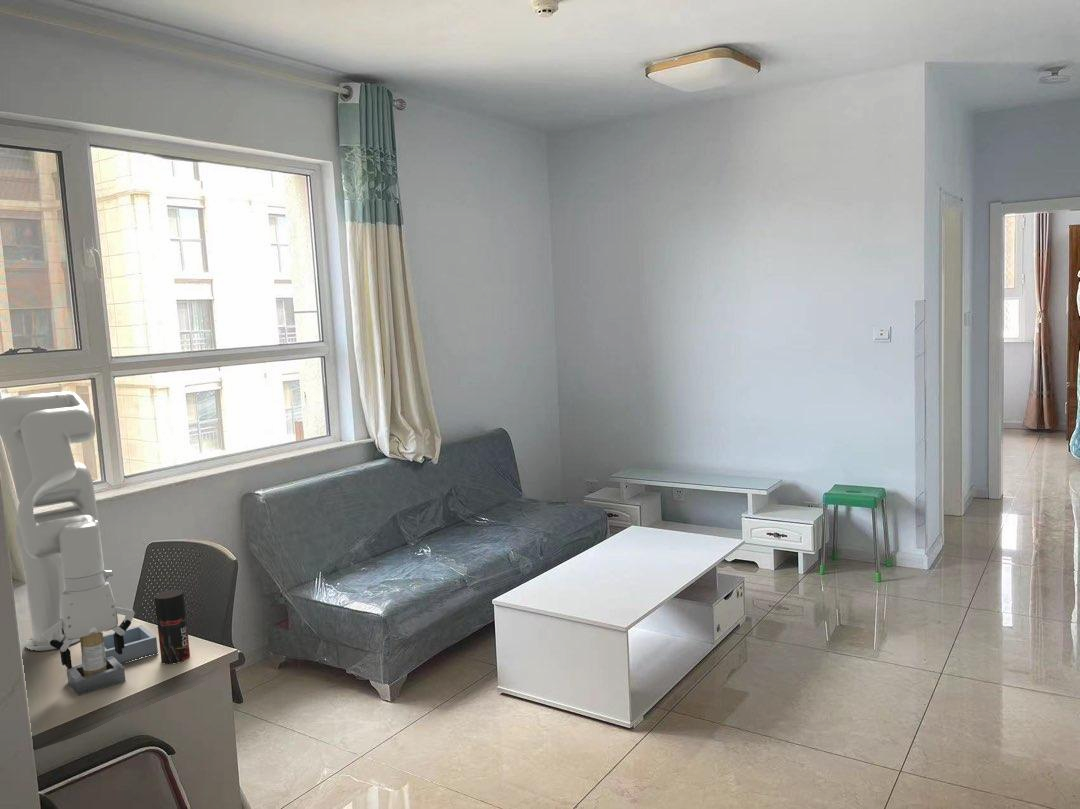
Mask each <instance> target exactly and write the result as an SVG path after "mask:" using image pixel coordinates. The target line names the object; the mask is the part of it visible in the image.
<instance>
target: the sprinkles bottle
mask: <svg viewBox="0 0 1080 809" xmlns="http://www.w3.org/2000/svg"><path fill="white" fill-rule="evenodd" d="M96 631H97V629H96V628H94V627H93V628H91V629H90V631H89V633H91V634H89V636H86V637H83V638H80V641H79V642H80V649H81V651H80V652H81V662H82V664H83V670H84V677H85V676H88V675H92V674H95V673H98V672H102V671H105V670H107V668H106V664H107V663H106V655H105V646H104V640H103V635H104V634H103V633H104V632H102V633H93V632H96ZM82 664H81V665H82Z"/></svg>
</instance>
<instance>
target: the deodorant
mask: <svg viewBox="0 0 1080 809" xmlns="http://www.w3.org/2000/svg"><path fill="white" fill-rule="evenodd" d="M185 602H186V601H185V593H184V590H182V589H170V590H165V591H164V590H163V591H161V592H158V593H156V594H154V604H155V606H154V607H155V614H156V624H157V631H158V632H157V633H158V641H159V652H160V659H161V660H160V661H161V663H162V664H163V663H165V664H164V665H174V664H173V663H176V664H179V663H178V662H180V663H182V661H183V662H185V661H187V660H189V658H190V657H191V653H190V643H189V632H188V624H187V623H188V622H187V621H188V620H187V614H186V613H187V612H186V605H185V604H186V603H185ZM186 659H187V660H186ZM184 660H185V661H184Z"/></svg>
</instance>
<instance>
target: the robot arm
mask: <svg viewBox="0 0 1080 809" xmlns="http://www.w3.org/2000/svg"><path fill="white" fill-rule="evenodd" d="M95 435H96V423H95V419H94V416H93V414H92V411H91V410H90V408H89V407H88V406H87V405H86V403H85V402H84V401H83V399H82V398H80V396H79V395H78V394H77V393H75V392H74V391H54V392H45V393H41V392H40V393H31V394H20V395H13V396H7V397H3V398H2V399H0V437H1V439H2V441H3V442H4V445H5V446H6V448H7V451H8V453H9V456H10V462H11V469H12V470H11V471H12V475H13V476H12V477H13V481H14V487H15V489H14V490H15V493H16V497H17V501H18V507H17V523H16V525H15V526H14V536H15V542H16V544H17V548H18V550H19V554H20V557H21V561H22V566H23V573H24V579H25V580H24V581H25V586H26V588H25V589H26V595H27V604H28V611H29V619H30V628H31V633H32V636H31V637H29V638H28V639H27V640H26V641H25V648H26V649H27V648H28V649H27V650H29V649H30V651H33V650H35V651H36V652H37V651H38V652H39V651H41V652H42V651H51V650H56V649H57V650H59V652H60V660H61V662H60V663H61V665H62V666H65V667H66V669H71V668H72V667H73V663H72V657H71V656H72V655H71V650H70V649H69V647H70V646H71V645H73V644H75V643H78V642H80V638H83V637H86V636H89V634H91V633H89V631H90V629H91V628H93V627H94V628H96V629H97V631H96V632H93V633H102V632H103V633H105V632H109V631H111V630H112V631H113V633H114V632H115V633H114V635H113V637H114V646H115V651H116V652H117V653H118V654H122V649H123V648H124V638H123V635H124V634H125V631H126V630H127V629H129V628H130V626H131V624H132V621H133V619H134V616H135V614H136V613H135V611H134V610H133V609H130V608H124V607H120V606H116V602H115V598H114V595H113V591H112V586H111V584H110V582H109V581H107V580H108V578H110V577H113V571H112V570H111V569H110V570H107V569H105V564H104V556H103V555H104V554H103V547H102V539H101V538H102V537H101V527H100V519H99V512H98V507H97V500H96V499H97V498H96V494H95V488H94V483H93V478H92V474H91V471H90V470H89V468H88V467H87V466H86V465H85V464H84V463H83V462H82V463H81V462H77V461H76V462H75V459H74V456H73V451H72V448H71V445H72V444H79V443H86V442H90V441H92V440H93V439H94V437H95ZM65 503H66V504H67V503H72V505H73V506H72V507H67V508H66V507H65V508H61V509H56V510H55V509H54V510H50V511H42V512H37V513H34V508H35V509H36V508H43V507H49V506H53V505H54V506H55V505H60V504H65ZM118 615H122V616H125V617H124V620H122V622H121V623H120V624H119V618H118ZM118 624H119V625H118Z"/></svg>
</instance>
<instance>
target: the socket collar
mask: <svg viewBox="0 0 1080 809" xmlns="http://www.w3.org/2000/svg"><path fill="white" fill-rule="evenodd" d="M106 663H107V664H106V668H107V670H105V671H102V672H98V673H95V674H92V675H88V676H85V677H84V670H83V664H79V665H75V666H72V668H71V669H67V668H66V669H65V670H66V677H67V683H68V684H69V686H70V687H71V689H72V690H73V691H74V693H76V695H77V696H79V697H80V696H82V695H85V694H88V692H89V693H92V692H94V691H98V690H101V689H104V688H107V687H111V686H114V685H117V684H120V683H123V682H126V672H125V667H124V666H123V664H122V665H121V664H120V663H119V662H118V661H117V660H116V659H115V658H114V657H113V656H109V657H106Z"/></svg>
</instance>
